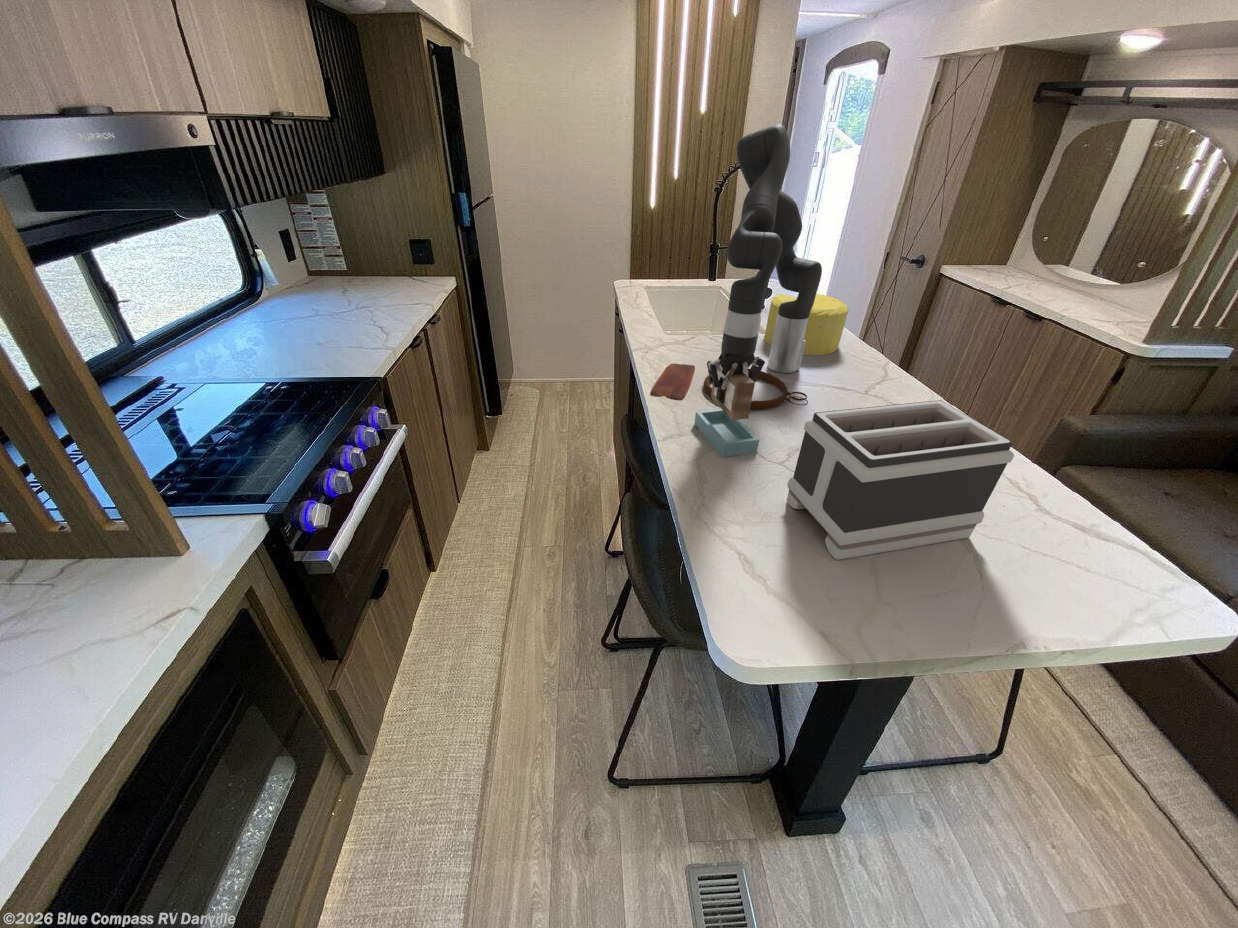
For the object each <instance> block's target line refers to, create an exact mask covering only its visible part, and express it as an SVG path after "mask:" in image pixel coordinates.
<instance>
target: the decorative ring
mask: <svg viewBox="0 0 1238 928" xmlns="http://www.w3.org/2000/svg"><path fill="white" fill-rule="evenodd" d="M749 370H750V368H748V372H749ZM757 380H760V381H763V382H765V383H768V384H770V385H772V384H773V385H772V386H774V385H775V386H776V387H775V386H774V387H775V388H776V389H778V391H779V392H780V393H781V395H780V396H778V397H775V398H770V399H767V400H752V401H751V407H750V411H764V410H771V409H774V408H778V407H779V406H780V405H782V404H784V403H785V401H788V403H791V404H792V405H794V406H795V405H796V406H806V405H808V403H809V400H807V398H808V395H807V394H806V393H804V392H801V391H792V392H791V391H789V389H788V387H787V385H786V383H785V382H784V381H782V379H780V378H779V377H778V376H775V375H773V374H771V373H768V372H765V371H763V370H761V372H760V374H759V376H758V378H757ZM710 384H711V383H710V378H709V374H708V375H707V376H706V377H705V378H704V381H703V385H702V386H703V389H704V392H705V394H706V395H707V397H709V398H710V399H711V400H712V398H711V393H712V386H711V385H710ZM793 394H795V395H796V394H798V395H802V396H803V397H801V396H792V395H793ZM788 396H789V397H788ZM791 399H792V400H795V401H806V403H804V404H803V403H802V404H799V403H794V402H792V401H791Z"/></svg>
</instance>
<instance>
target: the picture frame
mask: <svg viewBox="0 0 1238 928" xmlns="http://www.w3.org/2000/svg"><path fill="white" fill-rule="evenodd" d="M721 369H722V367H721V365H719V370H718V371H717V374H718V379H719V377H720V371H721ZM724 373H725V374H726V375H727V373H726V372H725V371H724ZM755 384H756V382H754V381H753V380H751V379H750V378H749V377H748V376H747V375H743V374H734V375H732V376H730V379H729V381H728V383H727V386H726V388H725V389H726V394H725V401H724V403H720V402H719V401H718V400H717V398H716V395H717V388H716V387H714V385H713V384H711V385H712V386H711V388H712V393H711V398H712V399H711V398H710V399H711V400H713V402H714V403H715V404H716V405H717V406H718V407H719V409H722V410H723V411H724V412H725V413H726V414H727V415H728V416H729V417H730V418H731V419H732V420H740V421H741V420H746V419H747V420H748V419H749V415H750V411H751V410H750V407H751V401H753V396H754V390H755Z"/></svg>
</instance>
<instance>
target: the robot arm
mask: <svg viewBox="0 0 1238 928" xmlns="http://www.w3.org/2000/svg"><path fill="white" fill-rule="evenodd" d="M736 145H737V146H736V159H737V161H738V165H739V168H740V172H741V173H742V176H743V178H744V180H745V183H746V185H747V187H748V189H749V190H748V192H747V193H746V196H745V197H744V199H743V203H742V210H741V214H740V216H741V217H740V221H739V224H738V225H737V228H736V229H735V231H734V232H733V235H732V236H731V238H730V240H729V243H728V245H727V250H726V257H727V261H728V263H729V264H730V265H731V266H732V267H734V268H736V269H743V270H745V269H746V270H756V271H757V270H758V272H757V274H756V275H755V276H753V277H748V278H741V279H737V280H735V281H734V282H733V283H732V284H731V288H730V292H729V301H728V307H727V311H726V312H727V313H726V316H725V319H724V326H723V333H722V342H721V347H720V348H721V351H720V355H719V356H718V359H716V360H714V361H713V360H712V361H711V360H708V361H707V362H706V368H707V372H708V375H709V378H710V384H711V385H714V387H716V388H717V395H716V398H717V400H718V401H719V402H720V403H724V401H725V394H726V389H725V388H726V386H727V383H728V381H729V379H730V376H732V375H734V374H743V375H747V376H748V377H749V378H750V379H751V380H753V381H754V382H755V383H756V382H757V380H758V379H757V378H758V376H759V374H760V372H761V371H763V370H762V369H763V367H764V365H765V363H766V362H765V360H764V359H762V358H761V357H760V356H755V353H756V348H757V343H758V338H759V333H760V328H761V323H762V322H761V321H762V319H761V318H762V309H763V305H764V297H765V295H766V290H767V287H768V283H769V282H770V279H771V277H772V274H773V272H774V270H775V269H776V274H777V279H778V281H779V284H780V286H781V287H782V288H783V289H784V290H787V291H790V292H794V293H798V295H797V299H796V300H795V301H788V302H784V303H782V304H780V306H779V310H778V315H777V320H776V326H775V331H774V336H773V341H772V346H771V345H770V346H771V347H770V352H769V356H768V357H769V358H768V362H767V368H768V369H769V370H771V371H773V372H776V373H781V374H791V373H792V374H793V373H796V371H800V369H801V365H802V360H803V356H804V354H803V353H804V349H805V344H806V341H805V340H804V337H805V332H806V328H807V323H808V319H809V315H810V312H811V309H812V307H813V304H814V300H815V297H816V294H818V290H819V287H820V283H821V279H822V273H823V267H822V264H821V262H819V261H816V260H812V259H806V258H801V257H798V256H797V255H796V254H795V250H794V247H795V246H796V244H797V242H798V240H799V238H800V235H801V234H802V230H803V222H802V218H801V217H802V216H801V213H800V209H799V206H798V204H797V202H796V201H795V200H794V199H793V198H792V197H791V196H790V195H789V194H787V193H786V192H784V191H782V190H781V189H782V187H783V183H784V180H785V177H786V173H787V171H788V167H789V164H790V158H791V143H790V139H789V135H788V132H787V129H786V127H785V126H784V125H782V124H780V123H779V124H772V125H770V126H767V127H765V128H762V129H759V130H757V131H754V132H751V133H749V134H746V135H744V136H742V137H741V138H740V139H739V140H738V142H737V144H736ZM719 365H721V367H722V369H721V371H720V377H719V379H718V374H717V371H718V370H719ZM748 369H750V370H749V372H748ZM724 371H725V372H726V373H727V375H726V374H725V373H724Z"/></svg>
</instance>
